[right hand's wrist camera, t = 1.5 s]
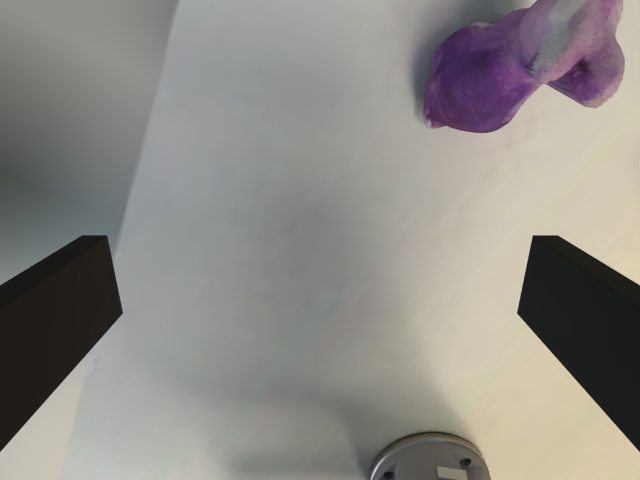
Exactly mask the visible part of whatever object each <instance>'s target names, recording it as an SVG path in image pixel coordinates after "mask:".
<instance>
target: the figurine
mask: <svg viewBox="0 0 640 480" xmlns="http://www.w3.org/2000/svg"><path fill="white" fill-rule="evenodd" d="M622 13H623V0H537V1H536V2H535V3H534V4H533V5H532V6H531V7H530V8H525V9H520V10H516V11H513V12H511V13H509V14H508V15H506V16H505V17H503V18H502V19H501V20H499V21H497V22H495V23H493V24H490V23H488V22H484V21H480V22H475V23H473V24H471V25H469V26H467V27H466V28H463V29H460V30H459V31H457V32H455V33H454V34H452V35H451V36H450V37H448V38H447V39H446V40H445V41H444V42H443V43H442V44H441V45H440V46H439V47H438V48H437V49H436V51H435V53H434V54H433V56H432V58H431V68H432V71H431V74H430V77H429V80H428V83H427V87H426V92H425V101H424V110H423V117H424V123H425V125H426V127H427V128H431V129H434V128H440V127H443V126H449V127H451V128H454V129H458V130H462V131H468V132H475V133H488V132H492V131H496V130H498V129H500V128H501V127H503V126H504V125H506V124H507V123H509V122H510V121H511V119H512V118H513V117H514V116H515V114H516V113H517V112H518V110H519V109H520V107H521V106H522V104H523V103H524V102H525V101H526V100H527V99H528V97H529V96H530V95H531V94H532V93H533V92H534V91H535V90H536V89H537V88H539V87H540V86H541V85H542V84H547V85H548V86H550V87H552V88H554V89H555V90H557V91H559V92H561V93H562V94H564V95H566V96H568V97H569V98H571V99H573V100H574V101H576V102H578V103H580V104H581V105H583V106H585V107H590V108H597V107H599V106H601V105H602V104H603V103H605V102H606V101H607V100H608V99H609V98H610V97H612V95H613V93H615V92H616V91H617V90H618V88H619V85H620V83H621V81H622V79H623V73H624V65H625V59H624V56H623V53H622V50H621V48H620V46H619V44H618V43H617V41H616V37H615V33H616V28H617V26H618V23H619V21H620V19H621V16H622Z"/></svg>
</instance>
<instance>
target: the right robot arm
mask: <svg viewBox="0 0 640 480" xmlns="http://www.w3.org/2000/svg"><path fill="white" fill-rule="evenodd" d="M122 314H123V311H122V306H121V302H120V297H119V292H118V287H117V282H116V277H115V272H114V267H113V262H112V257H111V252H110V247H109V243H108V238H107V236H81V237H79V238H77V239H76V240H74V241H72V242H71V243H69V244H68V245H66V246H64V247H63V248H61V249H59V250H58V251H56V252H54V253H53V254H51V255H49V256H48V257H46V258H44V259H43V260H41V261H40V262H38V263H36V264H35V265H33V266H31V267H30V268H28V269H26V270H25V271H23V272H22V273H20V274H18V275H17V276H15V277H13V278H12V279H10V280H8V281H7V282H5V283H4V284H2V285H0V451H1V450H2V449H3V448H4V447H5V446H6V445H7V444H8V442H9V441H10V440H11V439H12V438H13V437H14V436H15V435H16V433H17V432H18V431H19V430H20V429H21V428H22V427H23V426H24V424H25V423H26V422H27V421H28V420H29V419H30V418H31V416H32V415H33V414H34V413H35V412H36V411H37V410H38V409H39V407H40V406H41V405H42V404H43V403H44V402H45V401H46V400H47V398H48V397H49V396H50V395H51V394H52V393H53V392H54V390H55V389H56V388H57V387H58V386H59V385H60V384H61V383H62V381H63V380H64V379H65V378H66V377H67V376H68V375H69V374H70V372H71V371H72V370H73V369H74V368H75V367H76V366H77V365H78V363H79V362H80V361H81V360H82V359H83V358H84V357H85V356H86V354H87V353H88V352H89V351H90V350H91V349H92V348H93V346H94V345H95V344H96V343H97V342H98V341H99V340H100V339H101V337H102V336H103V335H104V334H105V333H106V332H107V331H108V330H109V328H110V327H111V326H112V325H113V324H114V323H115V322H116V321H117V319H118V318H119V317H120V316H121V315H122ZM517 314H518V315H519V316H520V317H521V318H522V319H523V321H524V322H525V323H526V324H527V325H528V326H529V327H530V328H531V330H532V331H533V332H534V333H535V334H536V335H537V336H538V337H539V339H540V340H541V341H542V342H543V343H544V344H545V345H546V346H547V348H548V349H549V350H550V351H551V352H552V353H553V354H554V356H555V357H556V358H557V359H558V360H559V361H560V362H561V363H562V365H563V366H564V367H565V368H566V369H567V370H568V371H569V372H570V374H571V375H572V376H573V377H574V378H575V379H576V380H577V382H578V383H579V384H580V385H581V386H582V387H583V388H584V389H585V391H586V392H587V393H588V394H589V395H590V396H591V397H592V398H593V400H594V401H595V402H596V403H597V404H598V405H599V406H600V407H601V409H602V410H603V411H604V412H605V413H606V414H607V415H608V417H609V418H610V419H611V420H612V421H613V422H614V423H615V424H616V426H617V427H618V428H619V429H620V430H621V431H622V432H623V433H624V435H625V436H626V437H627V438H628V439H629V440H630V441H631V443H632V444H633V445H634V446H635V447H636V448H637V449H638V450H639V452H640V285H638V284H637V283H635V282H633V281H632V280H630V279H628V278H627V277H625V276H623V275H622V274H620V273H618V272H617V271H615V270H614V269H612V268H610V267H609V266H607V265H605V264H604V263H602V262H600V261H599V260H597V259H596V258H594V257H592V256H591V255H589V254H587V253H586V252H584V251H582V250H581V249H579V248H577V247H576V246H574V245H573V244H571V243H569V242H568V241H566V240H564V239H563V238H561V237H559V236H533V238H532V243H531V247H530V252H529V257H528V262H527V267H526V272H525V277H524V282H523V287H522V292H521V297H520V302H519V306H518V311H517ZM369 480H491V478H490V475H489V471H488V468H487V466H486V464H485V461H484V459H483V457H482V455H481V454H480V452H479V451H478V450H477V449H476V448H475V447H474V446H473V445H472V444H470V443H469V442H467V441H465V440H463V439H461V438H459V437H456V436H452V435H448V434H442V433H424V434H418V435H413V436H410V437H406V438H404V439H401V440H399V441H397V442H395V443H393V444H392V445H390V446H389V447H387V448H386V449H385V450H383V451H382V452H381V453H380V454H379V456H378V457H377V458H376V459H375V461H374V463H373V465H372V467H371V470H370V474H369Z"/></svg>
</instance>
